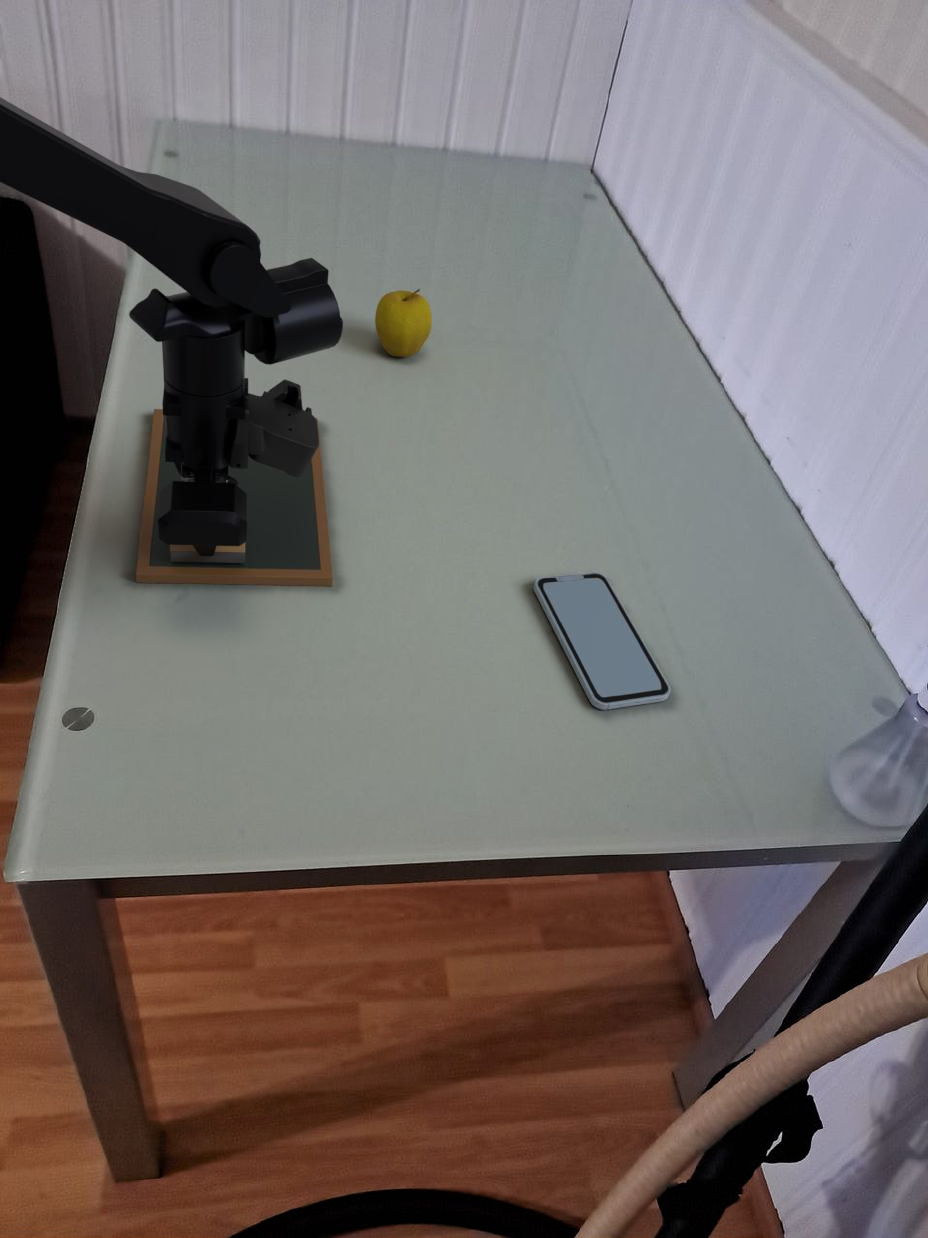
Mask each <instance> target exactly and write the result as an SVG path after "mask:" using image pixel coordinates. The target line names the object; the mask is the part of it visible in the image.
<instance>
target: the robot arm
mask: <svg viewBox="0 0 928 1238" xmlns="http://www.w3.org/2000/svg"><path fill="white" fill-rule="evenodd" d="M0 183H1V184H3V185H5V186H7V187H9V188H10V189H13V190H15V191H17V192H20V193H21V194H24V195H26V196H28V197H29V198H32V199H34V200H36V201H38V202H40V203H42V204H43V205H46V206H48V207H49V208H52V209H54V210H56V211H58V212H61V213H62V214H64V215H66V216H68V217H70V218H72V219H74V220H75V221H79V222H80V223H82V224H84V225H86V226H89V227H91V228H93V229H94V230H96V231H98V232H101V233H103V234H104V235H107V236H109V237H111V238H113V239H115V240H117V241H119V242H121V243H123V244H125V245H126V246H127V247H128V248H130V249H131V250H132V251H134V252H135V253H136V254H138V255H139V256H140V257H141V258H143V259H144V260H145V261H147V262H148V263H149V264H150V265H152V266H153V267H154V268H155V269H157V270H158V271H159V272H161V273H162V274H163V275H164V276H166V277H167V278H168V279H169V280H171V281H172V282H174V284H176V285H178V286H179V287H180V288H181V289H183V290H184V291H185V292H181V293H180V292H179V293H176V294H172V295H165V294H164V293H163V292H162V291H161V290H160V289H158V288H152V289H151V290H150V292H149V293H148V295H147V296H146V297H145V298H144V299H143V300H141V301H139V302H137V303H136V304H135V306H134V307H133V308H131V309H130V311H129V313H128V316H129V318H130V319H131V320H132V322H134V323H135V324H136V325H137V326H138V327H139V328H140V329H142V330H143V331H144V332H145V333H146V334H147V335H148V336H149V337H150V338H152V339H153V340H154V341H155V342H157V343H161V347H162V349H161V350H162V351H161V352H162V368H163V371H162V372H163V391H162V392H163V393H162V403H161V404H162V409H163V415H166V432H167V435H166V444H165V461H166V462H174V464H175V466H176V468H177V470H178V472H179V475H180V477H181V481H172V482H171V483H169V484H168V485H167V486H165V487H164V488H163V489H162V490H160V499H159V510H158V533H159V540H161V541H162V542H163V543H165V544H166V545H193V547H194V548H195V550H196V551H197V552H198V554H199V555H200V556H213V555H214V553H215V550H216V547H217V546H240V545H242V544H244V543H245V542H247V493H246V492H244V491H243V490H242V489H241V488H240V487H238V481H237V479H236V478H234V477H231V476H229V466H230V467H231V468H237V469H248V455H249V457H250V458H251V459H253V460H254V461H256V462H259V463H261V464H264V465H267V466H270V467H273V468H276V469H279V470H282V471H285V472H286V473H287V474H288V475H290V476H294V477H301V476H302V475H303V474H304V472H305V470H306V468H307V467H308V465H309V463H310V461H311V459H312V457H313V455H314V454H315V452H316V450H317V448H318V446H319V438H320V434H319V435H318V428H319V424H318V425H317V420H316V417H315V416H314V415H313V410H312V408H311V407H309V406H307V407H306V408H305V410H304V408H303V400H302V399H303V397H302V387H301V385H300V384H298V383H296V382H293V381H291V380H288V379H283V380H281V381H280V382H278V383H277V384H276V385H274V386H273V387H272V388H270V389H269V390H268V391H266V390H265V391H264V390H263V393H262V395H257V394H254V393H249V378H248V377H245V376H246V375H245V374H246V373H245V372H246V370H245V369H246V353H248V354H249V355H253V356H254V357H255V359H256V360H258V361H259V362H260V363H262V364H264V365H270V366H271V365H274V364H278V363H282V362H286V361H289V360H292V359H297V358H300V357H303V356H307V355H310V354H314V353H318V352H322V351H324V350H329V349H331V348H334V347H336V345H338V343H339V342H340V340H341V337H342V336H343V335H342V334H343V330H344V320H343V318H342V317H341V311H340V308H339V304H338V300H337V298H336V295H335V293H334V291H333V289H332V287H331V286H330V284H329V272H330V271H329V269H328V268H327V267H325V266H324V265H323V264H321V262H319V261H317V260H316V259H315V258H313V257H308V258H304V259H300V260H297V261H295V262H294V263H291V264H287V265H283V266H278V267H273V268H269V269H266V268H265V266H264V265H263V264H262V262H261V259H262V258H261V257H262V251H261V243H262V242H261V239H260V237H259V236H258V234H257V232H255V231H254V230H253V228H251V227H250V226H249V225H247V224H246V223H244V222H243V221H242V220H241V219H239V218H238V217H236V215H234V214H233V213H231V212H230V211H228V209H226V208H224V207H223V206H222V205H220V204H219V203H218V202H216V201H215V200H214V199H212V198H211V197H210V196H208V195H207V194H206V193H204V192H203V191H201V189H198V188H196V187H194V186H191V185H188V184H186V183H183V182H180V181H177V180H175V179H171V178H169V177H165V176H163V175H160V174H157V173H150V172H142V171H137V170H134V169H130V168H127V167H124V166H122V165H120V164H118V163H116V162H114V161H113V160H111V159H108V158H107V157H106V156H104V155H102V154H100V153H99V152H97V151H96V150H94V149H92V148H90V147H88V146H87V145H85V144H83V143H81V142H80V141H77V140H76V139H75V138H72V137H71V136H69V135H67V134H66V133H64V132H62V131H60V130H58V129H57V128H55V127H53V126H51V125H49V124H48V123H46V122H45V121H43V120H41V119H40V118H38V117H36V116H34V115H32V114H30V113H29V112H27V111H26V110H24V109H22V108H20V107H19V106H16V105H14V104H13V103H11V102H10V101H8V100H6V99H5V98H3V97H1V96H0Z"/></svg>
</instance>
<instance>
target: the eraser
mask: <svg viewBox="0 0 928 1238" xmlns="http://www.w3.org/2000/svg"><path fill="white" fill-rule="evenodd" d="M170 559H171V562H205V563H245V543H244V544H242V545H240V546H217V547H216V550H215V553H214V555H213V556H200V555H199V554H198V552H197V551H196V550H195V548H194V547H193V545H170Z"/></svg>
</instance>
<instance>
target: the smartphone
mask: <svg viewBox="0 0 928 1238" xmlns="http://www.w3.org/2000/svg"><path fill="white" fill-rule="evenodd" d="M533 591H534V593H535V595H536V597H537V599H538V602H539V603H540V605H541V607H542V609H543V611H544V613H545V615H546V618H547V619H548V621H549V623H550V626H551V627H552V629H553V631H554V633H555V635H556V638H557V639H558V641H559V643H560V645H561V647H562V650H563V651H564V653H565V655H566V657H567V659H568V661H569V663H570V665H571V666H572V669H573V671H574V673H575V674H576V677H577V680H578V681H579V682H580V685H581V687H582V689H583V691H584V693H585V694H586V697H587V698H588V700H589V702H590V704H591V705H592V706H593V707H595V708H596V709H599V710H603V711H604V710H612V709H613V710H614V709H619V708H620V709H621V708H625V707H632V706H639V705H647V704H652V703H660V702H664V701H666V700H667V699H668V697H669V696H670V694H671V691H672V689H671V686H670V684H669V682H668V681H667V678H666V677H665V674H664V673H663V672H662V670H661V668H660V666H659V665H658V662H657V661H656V659H655V658H654V656H653V653H651V651H650V649H649V647H648V646H647V644H646V642H645V641H644V638H643V637H642V636H641V634H640V632H639V630H638V629H637V627H636V625H635V623H634V621H633V620H632V618H631V616H630V614H629V613H628V611H627V609H626V608H625V606H624V604H623V602H622V601H621V599H620V597H619V595H618V594H617V592H616V590H615V589H614V587H613V585H612V584H611V582H610V580H609V578H608V577H607V576H606V575H605V574H603V573H601V572H597V571H592V572H582V573H570V574H562V575H561V574H559V575H549V576H541V577H538V578H537V579H536V580H535V582H534V585H533Z"/></svg>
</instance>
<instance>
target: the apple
mask: <svg viewBox="0 0 928 1238" xmlns="http://www.w3.org/2000/svg"><path fill="white" fill-rule="evenodd" d="M420 291H421V288H418V289H416V290H414V291H411V290H395V291H390V292H387V293H386V294H385V295H383V296H382V297H381V298H380V300H379V301H378V303H377V306H376V310H375V316H374V323H375V331H376V334H377V337H378V339H379V341H380V344H381V346H382V348H383V349H384V350H385V351H386V353H387V354H389V355H390V356H392V357H398V358H409V357H411V356H414V355H416V354H418V353H419V352H420V350H421V349H422V348H423V346H424V344H425V343H426V341H427V340H428V338H429V337H430V334H431V331H432V324H433V318H432V309H431V306H430V304H429V302H428V300H427V299H426V298H425V297H424V296H423V295H421V294H419V292H420Z"/></svg>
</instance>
